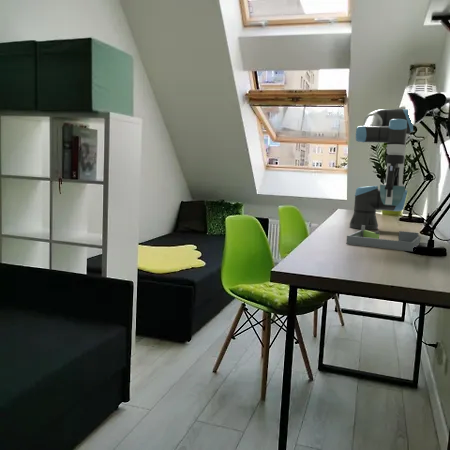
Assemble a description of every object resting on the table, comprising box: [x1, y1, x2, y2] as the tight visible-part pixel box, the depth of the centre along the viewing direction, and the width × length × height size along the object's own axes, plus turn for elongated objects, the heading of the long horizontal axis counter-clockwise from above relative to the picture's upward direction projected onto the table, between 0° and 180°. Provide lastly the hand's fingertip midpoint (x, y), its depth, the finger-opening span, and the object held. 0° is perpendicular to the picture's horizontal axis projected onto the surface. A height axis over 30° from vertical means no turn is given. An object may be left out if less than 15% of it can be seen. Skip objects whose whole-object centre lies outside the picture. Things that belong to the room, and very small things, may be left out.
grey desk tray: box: [346, 225, 422, 252], centre depth 206 cm, size 24×26×6 cm
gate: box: [363, 229, 380, 239], centre depth 214 cm, size 2×12×5 cm, turn 11°
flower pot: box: [379, 184, 406, 206], centre depth 213 cm, size 9×9×9 cm
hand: (390, 204), depth 213 cm, fingers closed on flower pot, 11 cm apart
